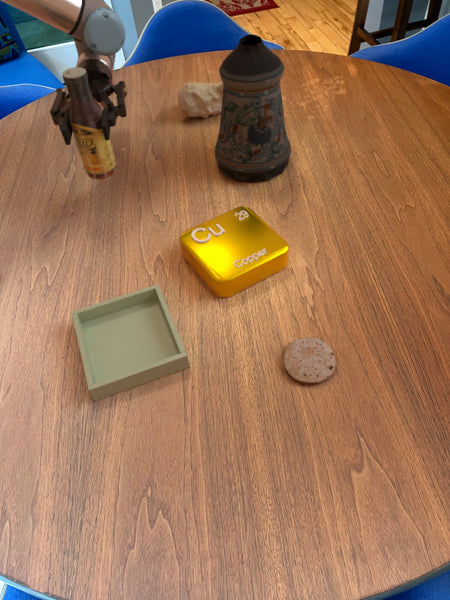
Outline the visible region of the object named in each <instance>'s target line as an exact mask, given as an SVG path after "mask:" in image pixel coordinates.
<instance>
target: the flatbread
mask: <svg viewBox="0 0 450 600" xmlns="http://www.w3.org/2000/svg"><path fill="white" fill-rule="evenodd" d="M283 365H284V369H285V370H286V372H287V373H288V375H290V377H292V378H293V379H294V380H296V381H299V382H302V383H305V384H306V383H307V384H317V383H321V382H324V381H325V380H327V379H329V378H330V377H332V375H333V374H334V373H335V370H336V357H335V354H334V351H333V349H332V348H331V347H330V346H329V344H327V343H326V342H325V341H323V340H321V339H320V338H319V337H317V336H311V337H310V336H309V337H303V338H297V339H294V340H292V341H291V342H290V343H289V344H288V345H287V347H286V348H285V350H284V353H283Z"/></svg>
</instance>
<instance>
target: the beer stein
mask: <svg viewBox="0 0 450 600" xmlns="http://www.w3.org/2000/svg"><path fill="white" fill-rule="evenodd" d="M284 72H285V64H284V62H283V61H282V59H281V58H280V57H279V56H278V55H277V54H275V53H274V52H273V51H271V50H270V49H269V48H268V47H267V45H265V43H264V41H263V38H262V37H261V36H259V35H257V34H253V33H252V34H246V35H244V36H242V37H241V38H240V39H239V41H238V43H237V45H236V46H235V48H234V49H232V50H231V52H229V54H228V55H226V57H225V58H224V59H223V61H222V62H221V64H220V65H219V69H218V73H219V77H220V80H221V83H223V96H222V108H221V113H220V121H219V130H218V134H217V140H216V143H215V145H214V156H215V160H216V163H217V166H218V170H219V172H221V174H222V175H223V176H224V177H226V178H228V179H231V180H233V181H236V182H241V183H248V184H254V183H255V184H256V183H264V182H269V181H272V180H273V179H274V178H276V177H278V176H279V175H282V174H283V173H284V171H285V170H286V169H287V167H288V165H289V161H290V157H291V154H292V144H291V141H290V140H289V137H288V133H287V129H286V122H285V121H286V119H285V112H284V103H283V94H282V88H281V87H282V85H281V80H282V78H283V76H284Z"/></svg>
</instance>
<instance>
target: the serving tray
mask: <svg viewBox="0 0 450 600" xmlns="http://www.w3.org/2000/svg"><path fill="white" fill-rule="evenodd" d="M70 313H71V317H72V318H71V319H72V321H73V326H74V331H75V335H76V341H77V344H78V350H79V353H80V359H81V362H82V368H83V372H84V375H85V380H86V385H87V390H88V392H89V394H90V396H91V397H92V399H93V401H94V402H96V401H99V400H103V399H104V398H107V397H110V396H113V395H116V394H119V393H121V392H125V391H127V390H129V389H132V388H135V387H138V386H142V385H143V384H146V383H149V382H152V381H155V380H158V379H160V378H164V377H166V376H169V375H172V374H174V373H177V372H180V371H182V370H186V369H188V368H191V365H190V361H189V357H188V353H187V351H186V348H185V345H184V344H183V341H182V339H181V336H180V334H179V331H178V329H177V326H176V324H175V321H174V319H173V317H172V314H171V311H170V308H169V307H168V304H167V301H166V299H165V297H164V295H163V292H162V289H161V287H160V284H159V283H156V284H153V285H151V286H147V287H144V288H140V289H138V290H134V291H132V292H128V293H125V294H122V295H119V296H116V297H113V298H110V299H106V300H104V301H100V302H97V303H94V304H92V305H88V306H85V307H82V308H79V309H76V310H72V311H71V312H70Z"/></svg>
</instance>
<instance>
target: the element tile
mask: <svg viewBox="0 0 450 600" xmlns="http://www.w3.org/2000/svg"><path fill="white" fill-rule="evenodd" d="M179 243H180V248H181V253H182V257H183V258H184V260H185V261H186V262H188V264H189V265H190V266H191V268H192V269H193V270H194V271H195V273H197V275H198V276H199V277H200V278H201V279H202V281H203V282H204V283H205V284H206V286H207V287H208V288H209V289H210V290H211V291H212V292H213V294H214V295H216V296H217V297H219V298H229V297H232V296H234V295H236V294H238V293H240V292H241V291H244V290H245V289H247V288H250V287H252V286H253V285H255V284H257V283H259V282H261V281H263V280H265V279H267V278H269V277H271V276H273V275H274V274H276V273H278V272H280V271H282V270H284V269H285V268H286V267H287V266H288V264H289V254H290V245H289V243H288V242H287V240H286V239H285V238H283V236H281V235H280V234H279V233H278V232H277V231H276V230H275V229H274V228H273V227H271V225H269V224H268V222H266V221H265V220H264V219H262V218H261V217H260V216H259V215H258V214H257V213H256V212H255V211H254V210H252V209H251V207H247V206H245V205H243V206H238V207H235V208H233V209H230V210H228V211H225V212H224V213H222V214H219V215H217V216H214V217H213V218H210V219H208V220H206V221H204V222H201V223H200V224H197V225H194V226H192V227H191V228H188V229H187V230H185V231H183V232H182V233H181V234H180V236H179Z"/></svg>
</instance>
